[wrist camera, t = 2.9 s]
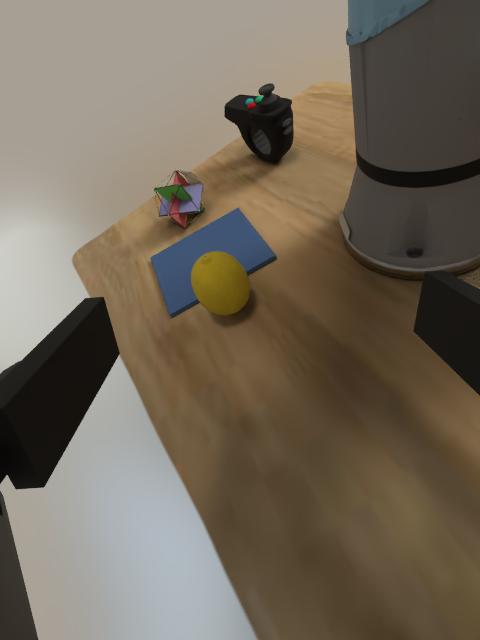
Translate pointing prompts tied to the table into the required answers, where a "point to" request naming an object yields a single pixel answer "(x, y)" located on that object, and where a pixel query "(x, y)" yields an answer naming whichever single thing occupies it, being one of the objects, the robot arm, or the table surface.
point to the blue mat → (217, 236)
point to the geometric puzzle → (181, 198)
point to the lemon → (220, 283)
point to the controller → (263, 122)
